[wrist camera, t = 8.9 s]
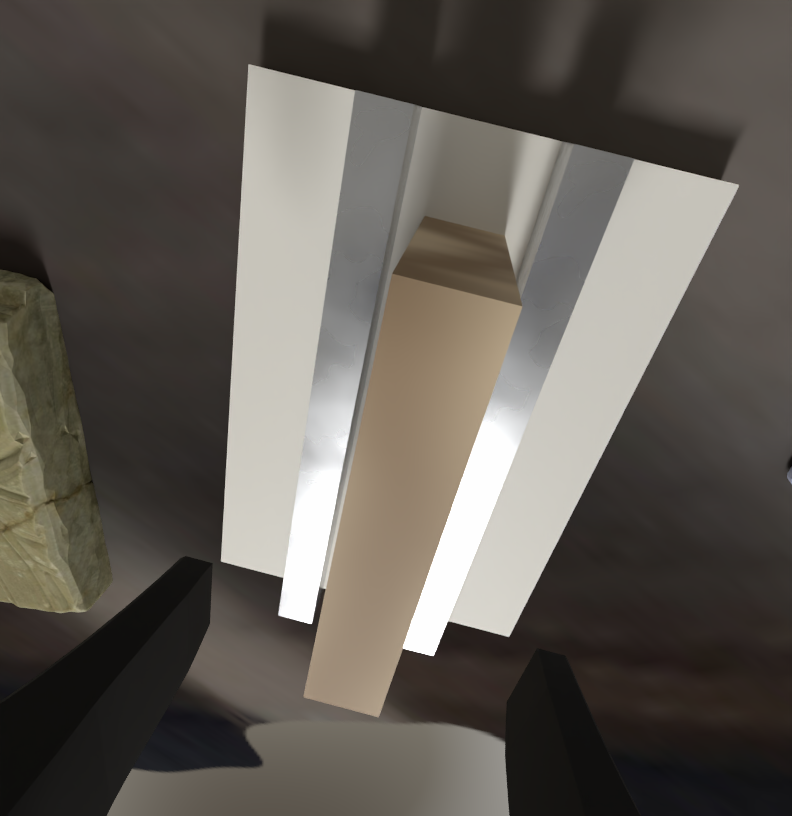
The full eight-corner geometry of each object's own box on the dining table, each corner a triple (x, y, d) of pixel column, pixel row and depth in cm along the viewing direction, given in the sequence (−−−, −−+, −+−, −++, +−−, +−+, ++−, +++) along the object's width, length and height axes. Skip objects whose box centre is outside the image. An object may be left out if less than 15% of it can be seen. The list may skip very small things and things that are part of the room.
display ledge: (721, 181, 15) (776, 193, 12) (507, 615, 25) (511, 676, 22) (264, 68, 15) (217, 55, 13) (231, 543, 25) (201, 594, 23)
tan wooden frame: (506, 236, 16) (525, 307, 10) (406, 557, 23) (380, 717, 16) (423, 215, 16) (389, 273, 10) (348, 543, 23) (301, 696, 17)
